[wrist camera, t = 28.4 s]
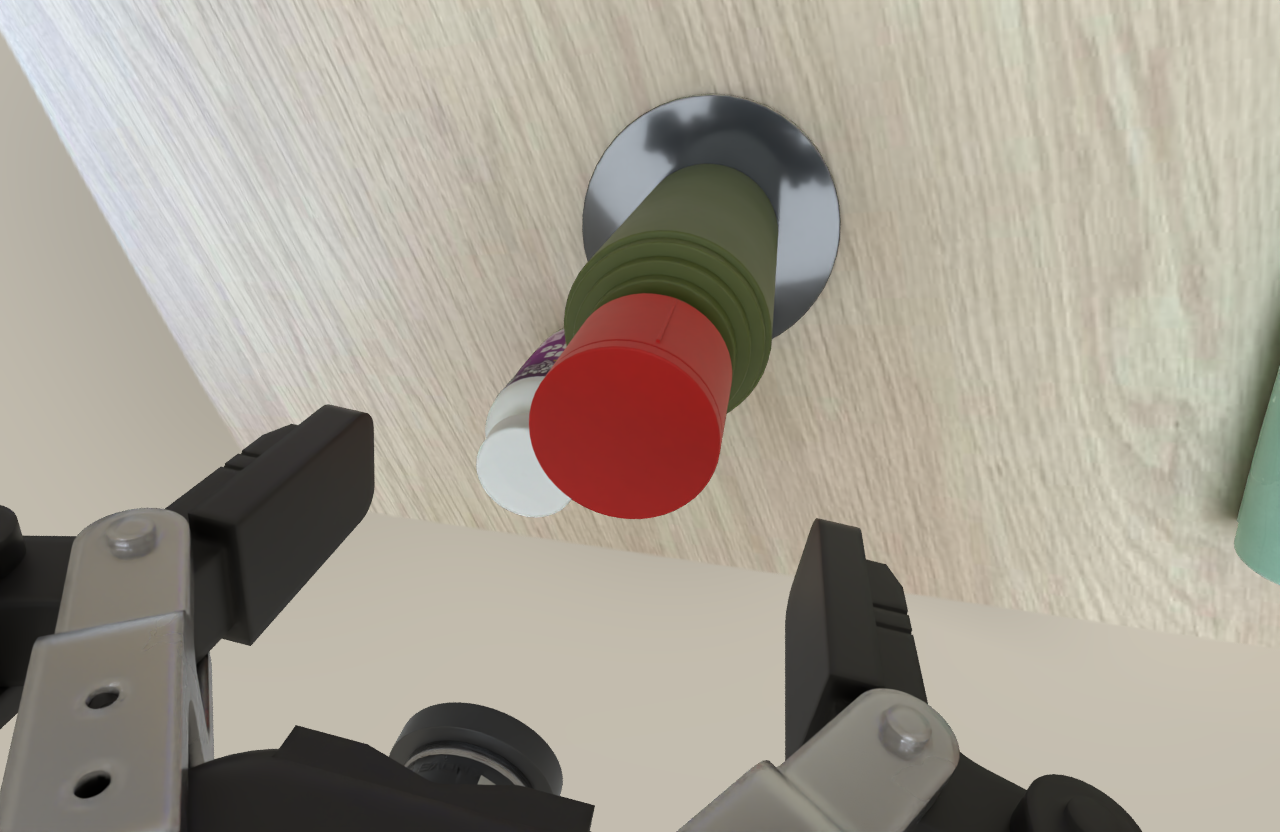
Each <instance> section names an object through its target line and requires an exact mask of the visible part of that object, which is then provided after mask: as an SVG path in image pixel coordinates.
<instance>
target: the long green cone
mask: <svg viewBox="0 0 1280 832" xmlns="http://www.w3.org/2000/svg"><path fill="white" fill-rule="evenodd" d="M1237 522H1238V523H1239V524H1238V528H1237V532H1236V536H1235V540H1234V548H1235V550H1236V553H1237V554H1238V556H1239V557H1240V559H1241V560H1242V561H1243V562H1244V563H1245V564H1246V565H1247V566H1248V567H1249V568H1251V569H1252V570H1253V571H1255V572H1256V573H1258V574H1259V575H1261V576H1262V577H1264V578H1266V579H1268V580H1270V581H1272V582H1274V583H1276V584H1278V585H1280V366H1279V370H1278V374H1277V377H1276V381H1275V383H1274V387H1273V390H1272V393H1271V397H1270V400H1269V404H1268V407H1267V411H1266V414H1265V418H1264V421H1263V424H1262V428H1261V431H1260V435H1259V438H1258V442H1257V445H1256V449H1255V453H1254V456H1253V460H1252V464H1251V468H1250V471H1249V475H1248V479H1247V483H1246V487H1245V490H1244V494H1243V498H1242V502H1241V506H1240V509H1239V513H1238V517H1237Z"/></svg>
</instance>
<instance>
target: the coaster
mask: <svg viewBox="0 0 1280 832" xmlns="http://www.w3.org/2000/svg"><path fill="white" fill-rule="evenodd" d="M698 164H718V165H723V166H727V167H730V168H733V169H735V170H738V171H740V172H742V173H743V174H745V175H746V176H748V177H750V178H751V179H752V180H753V181H754V182H755V183H757V184H758V185H759V187H760V188H761V189H762V190H763V191H764V193H765V194H766V196H767V197H768V199H769V200H770V202H771V205H772V207H773V209H774V212H775V215H776V219H777V225H778V248H777V264H776V280H775V297H774V313H773V329H772V339H773V338H775V337H776V336H778V335H780V334H781V333H783V332H784V331H786V330H787V329H788V328H790V327H791V326H793V325H794V324H795V323H796V322H797V321H798V320H799V319H800V318H801V317H802V316H803V315H804V314H805V313H806V312H807V311H808V310H809V309H810V307H811V306H812V305H813V304H814V303H815V301H816V300H817V298H818V297H819V295H820V293H821V292H822V290H823V289H824V287H825V285H826V283H827V281H828V279H829V276H830V274H831V272H832V269H833V266H834V263H835V260H836V257H837V252H838V246H839V241H840V223H841V220H840V209H839V201H838V197H837V193H836V188H835V185H834V182H833V179H832V177H831V174H830V171H829V169H828V167H827V165H826V163H825V161H824V159H823V157H822V156H821V154H820V152H819V151H818V149H817V148H816V147H815V145H814V144H813V143H812V141H811V140H810V139H809V137H808V136H807V135H806V134H805V133H804V132H803V131H802V130H801V129H800V128H799V127H798V126H797V125H796V124H794V123H793V122H792V121H790V120H789V119H788V118H786V117H785V116H784V115H782V114H781V113H779V112H777V111H775V110H773V109H772V108H770V107H768V106H766V105H764V104H761V103H758V102H756V101H753V100H750V99H747V98H743V97H738V96H733V95H725V94H701V95H692V96H688V97H683V98H679V99H675V100H673V101H670V102H667V103H664V104H662V105H660V106H658V107H656V108H654V109H652V110H650V111H648V112H646V113H645V114H643V115H641V116H640V117H639V118H637V119H636V120H635V121H633V122H632V123H631V124H629V125H628V126H627V127H626V128H625V129H624V130H623V131H622V132H621V133H620V134H619V135H618V136H617V137H616V138H615V139H614V140H613V141H612V143H611V144H610V145H609V147H608V148H607V149H606V150H605V152H604V154H603V155H602V157H601V159H600V160H599V162H598V164H597V165H596V168H595V170H594V172H593V175H592V177H591V179H590V182H589V185H588V189H587V193H586V196H585V202H584V209H583V225H582V232H583V241H584V248H585V253H586V257H587V261H589V260H590V259H591V258H592V257H593V256H594V255H595V253H596V252H597V251H598V250H599V249H600V248H601V247H602V246H603V245H604V243H605V242H606V241H607V240H608V239H609V238H610V237H611V236H612V235H613V234H614V232H615V231H616V230H617V229H618V228H619V227H620V226H621V225H622V224H623V222H624V221H625V220H626V219H627V218H628V217H629V216H630V215H631V214H632V212H633V211H634V210H635V209H636V208H637V207H638V206H639V205H640V204H641V203H642V201H643V200H644V199H645V198H646V197H647V196H648V195H649V194H650V193H651V191H652V190H653V189H654V188H655V187H656V186H657V185H658V184H659V183H660V182H661V181H662V180H664V179H665V178H666V177H668V176H669V175H670V174H672V173H674V172H676V171H678V170H680V169H683V168H685V167H688V166H693V165H698Z"/></svg>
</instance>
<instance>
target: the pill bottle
mask: <svg viewBox="0 0 1280 832" xmlns="http://www.w3.org/2000/svg"><path fill="white" fill-rule="evenodd" d="M566 347H567V346H566V340H565V334H564V329H562V330H559V331H557V332H555V333H554V334H552V335H551V336H550V337H548V338H547V339H546V340H545V341H544V342H543V344H541V345H540V347H539V348H538V349H537V350H536V351H535V352H534V353H533V354H532V356H531V357H530V358H529V359H528V360H527V361H526V363H525V364H524V365H523V366H522V367H521V369H520V370H519V371H518V372H517V374H516V375H515V376H514V377H513V379H512V380H511V381H510V382H509V383H508V384H507V385H506V387H505V388H504V389H503V390H502V391H501V392H500V393H499V394H498V396H497V397H496V399H495V401H494V402H493V404H492V406H491V408H490V410H489V413H488V416H487V420H486V429H485V433H486V439H485V440H484V442H483V443H482V445H481V447H480V449H479V452H478V455H477V463H476V469H477V474H478V478H479V480H480V483H481V485H482V486H483V488H484V490H485V491H486V492H487V494H488V495H489V496H490V497H491V498H492V499H493V500H494V501H495V502H496V503H497V504H498V505H500V506H501V507H503V508H504V509H506V510H508V511H510V512H513V513H515V514H518V515H521V516H526V517H545V516H549V515H552V514H555V513H557V512H559V511H560V510H562V509H563V508H564V507H565V506H566V505H567V504H568V503H569V502H570V501H571V498H569V497H568V496H567V495H565V494H564V493H563V492H562V491H561V490H560V489H558V488H557V487H556V486H555V485H554V483H553V482H552V481H551V480H550V479H549V478H548V476H547V475H546V473H545V472H544V471H543V469H542V468H541V466H540V464H539V462H538V460H537V458H536V456H535V453H534V450H533V448H532V444H531V439H530V433H529V413H530V408H531V403H532V400H533V397H534V394H535V392H536V390H537V388H538V387H539V385H540V383H541V382H542V380H543V379H544V377H545V376H546V375H547V373H548V372H549V370H550V369H551V368H552V366H553V365H554V364H555V362H556V361H557V359H558V358H559V357H560V355H561V354H562V353H563V351H564V350H565V348H566Z"/></svg>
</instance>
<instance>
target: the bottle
mask: <svg viewBox="0 0 1280 832" xmlns="http://www.w3.org/2000/svg"><path fill="white" fill-rule="evenodd" d="M777 248H778V225H777V219H776V215H775V212H774V209H773V207H772V205H771V202H770V200H769V199H768V197H767V196H766V194H765V193H764V191H763V190H762V189H761V188H760V187H759V185H758V184H757V183H755V182H754V181H753V180H752V179H751V178H750V177H748V176H746V175H745V174H743V173H742V172H740V171H738V170H735V169H733V168H730V167H727V166H723V165H718V164H698V165H693V166H688V167H685V168H683V169H680V170H678V171H676V172H674V173H672V174H670V175H669V176H668V177H666V178H665V179H664V180H662V181H661V182H660V183H659V184H658V185H657V186H656V187H655V188H654V189H653V190H652V191H651V193H650V194H649V195H648V196H647V197H646V198H645V199H644V200H643V201H642V203H641V204H640V205H639V206H638V207H637V208H636V209H635V210H634V211H633V212H632V214H631V215H630V216H629V217H628V218H627V219H626V220H625V221H624V222H623V224H622V225H621V226H620V227H619V228H618V229H617V230H616V231H615V232H614V234H613V235H612V236H611V237H610V238H609V239H608V240H607V241H606V242H605V243H604V245H603V246H602V247H601V248H600V249H599V250H598V251H597V252H596V253H595V255H594V256H593V257H592V258H591V259H590V260H589V261H588V262H587V263H586V265H585V266H584V267H583V269H582V270H581V271H580V273H579V274H578V276H577V278H576V280H575V281H574V283H573V285H572V288H571V290H570V293H569V295H568V299H567V303H566V308H565V316H564V334H565V340H566V346H568V344H569V343H570V341H571V340H572V339H573V337H574V336H575V335H576V333H577V332H578V330H579V329H580V328H581V326H582V325H583V324H584V322H585V321H586V320H587V318H588V317H589V316H590V315H591V314H592V313H593V312H594V311H596V310H597V309H599V308H600V307H601V306H603V305H604V304H606V303H608V302H610V301H612V300H614V299H617V298H620V297H623V296H627V295H631V294H641V293H650V294H659V295H665V296H669V297H672V298H676V299H678V300H680V301H683V302H685V303H687V304H689V305H690V306H692V307H694V308H695V309H697V310H698V311H699V312H701V313H702V314H703V315H704V316H706V317H707V318H708V319H709V320H710V321H711V322H712V324H713V325H714V326H715V327H716V329H717V330H718V331H719V333H720V334H721V336H722V338H723V340H724V341H725V344H726V346H727V349H728V351H729V355H730V359H731V365H732V384H731V390H730V396H729V402H728V407H727V413H728V412H730V411H731V410H733V409H734V408H735V407H737V406H738V405H739V404H741V403H742V402H743V401H744V400H745V399H746V398H747V397H748V396H749V395H750V393H751V392H752V391H753V389H754V388H755V387H756V385H757V384H758V382H759V380H760V378H761V377H762V375H763V373H764V370H765V368H766V365H767V363H768V359H769V355H770V351H771V342H772V329H773V313H774V297H775V280H776V264H777ZM727 413H726V414H727Z"/></svg>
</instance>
